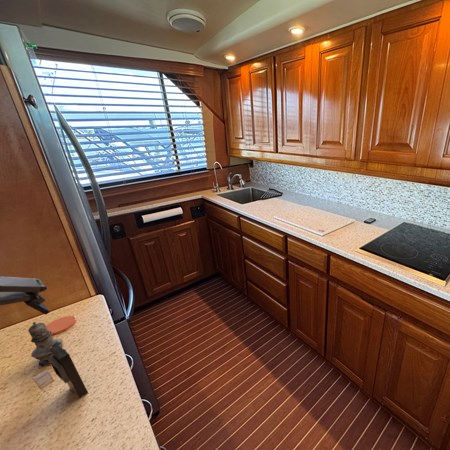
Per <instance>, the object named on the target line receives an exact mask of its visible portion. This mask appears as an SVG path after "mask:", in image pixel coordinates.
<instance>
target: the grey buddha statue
mask: <svg viewBox="0 0 450 450" xmlns="http://www.w3.org/2000/svg"><path fill="white" fill-rule="evenodd" d="M46 325H47V324H45V323H44V322H37V321H33V322H32V325H31V326H29V328H28V330H27V331H28V333H29V335H30V336H31V339H30V342H32V343H33V344H34V345H35V348H34V349H33V350H32V352H31V353H30V356H31V357H32V358H34V359H35V360H38V366H39V367H41V368H42V367H43V368H44V367H48V366H51V364H50V362H49V360H48V358H50V357H52V354H51V352H50V349H52V348H54V347H55V346H57V345H59V346H60V347H62V348H63V345H64V344H63V343H64V339H63V338H60V337H59V338H53V335H51V333H52V332H51V331H48V329H47V327H46ZM63 349H64V350H65V351H66V352H67V349H65V348H63Z"/></svg>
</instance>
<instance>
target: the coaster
mask: <svg viewBox="0 0 450 450" xmlns="http://www.w3.org/2000/svg"><path fill="white" fill-rule="evenodd" d="M77 321H78V320H77V317H76V316H74V315H65V316H61V317H59V318H56V319H54V320H53V321H51V322H49V323H48V324H45V325H46V327H47V329H48V331H51V332H52V333H51V336H54V335H57V334H61V333H63V332H65V331H67V330H69V329H70V328H71V327H73V326H74V325H75V324H76V323H77Z"/></svg>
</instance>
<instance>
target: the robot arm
mask: <svg viewBox="0 0 450 450" xmlns="http://www.w3.org/2000/svg"><path fill="white" fill-rule="evenodd" d="M47 289H48V287H47V286H46V285H45V284H44V283H43V281H42V280H41V279H40V278H35V277H33V278H31V277H14V276H13V277H12V276H0V306H5V305H10V304H11V305H12V304H17V303H24V304H25V305H26V306H28V307H29V308H32V309H34V310H36V311H38V312H39V313H41V314H43V315H48V314H50V313H51V311H50V310H49V308H48V307H47V306H46V305H45V304H44V303H45V302H46V299H45V298H44V296H43V295H42V294H40V293H42V292H45V291H46V290H47Z"/></svg>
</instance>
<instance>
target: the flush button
mask: <svg viewBox="0 0 450 450" xmlns="http://www.w3.org/2000/svg"><path fill="white" fill-rule="evenodd" d="M32 380H33V382H34V383H35V385H36V386H37V388H38V389H39V390H40V391H41V390H44V388H47V387H48V386H49V385H51V384H53V383H54V382H55V379H54V378H53V376H52V375H51V373H50V372H49V371H48V370H47V369H44V370H42V371H41V372H39V373H38V374H36V375H35V376H33V377H32Z"/></svg>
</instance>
